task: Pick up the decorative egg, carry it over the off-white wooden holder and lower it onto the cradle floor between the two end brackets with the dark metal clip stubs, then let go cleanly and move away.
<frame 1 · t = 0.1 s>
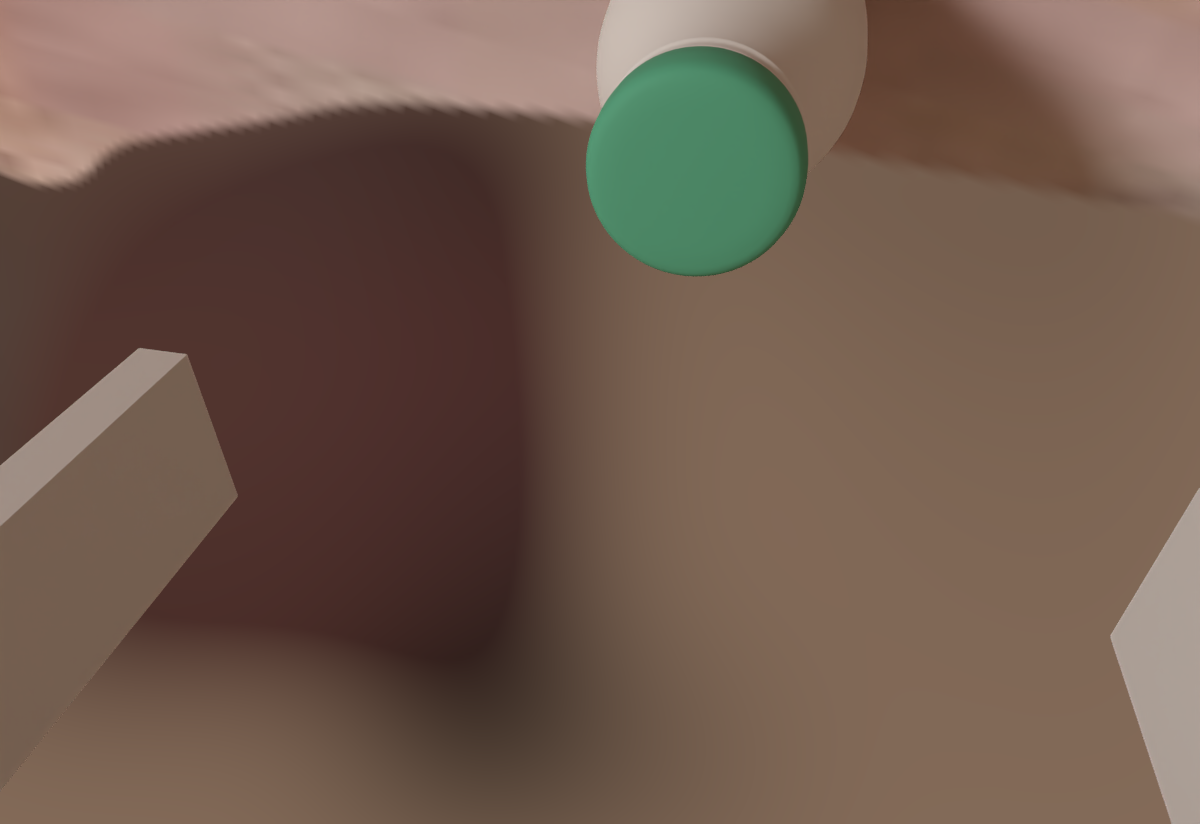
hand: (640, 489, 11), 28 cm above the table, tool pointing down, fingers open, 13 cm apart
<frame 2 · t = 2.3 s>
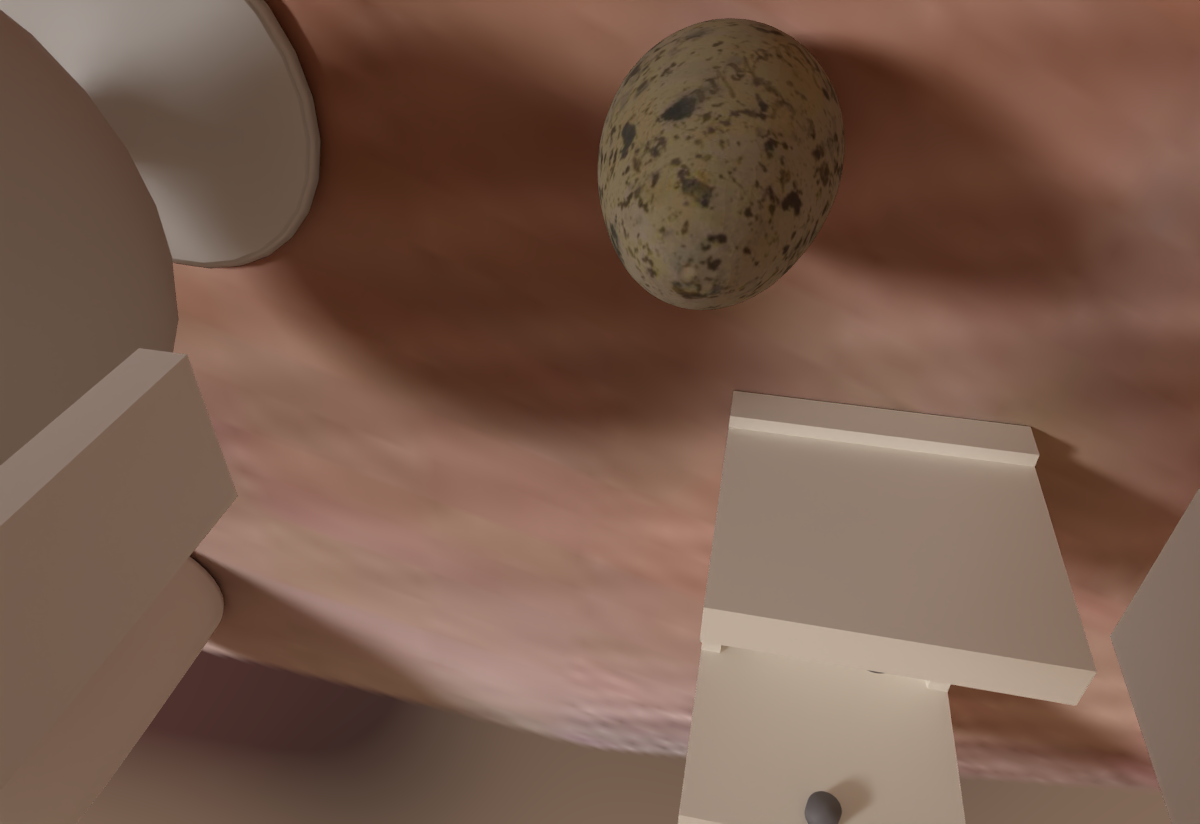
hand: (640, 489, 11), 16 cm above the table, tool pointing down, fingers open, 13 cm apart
milk bottle: (164, 575, 45), on the table
decorative egg: (733, 102, 24), on the table
holder: (842, 546, 33), on the table
chalice: (155, 94, 28), on the table
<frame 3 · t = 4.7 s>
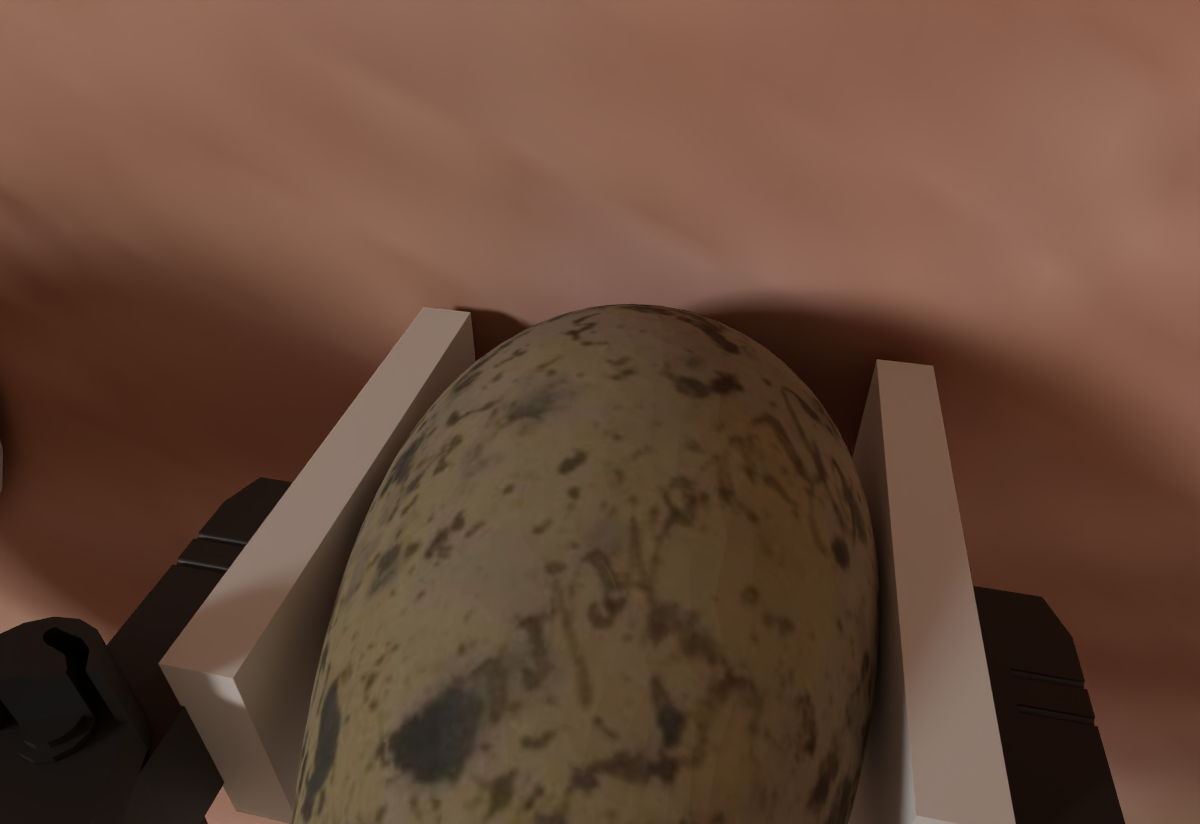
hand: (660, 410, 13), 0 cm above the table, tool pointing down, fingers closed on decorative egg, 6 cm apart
decorative egg: (664, 383, 13), on the table, touching gripper
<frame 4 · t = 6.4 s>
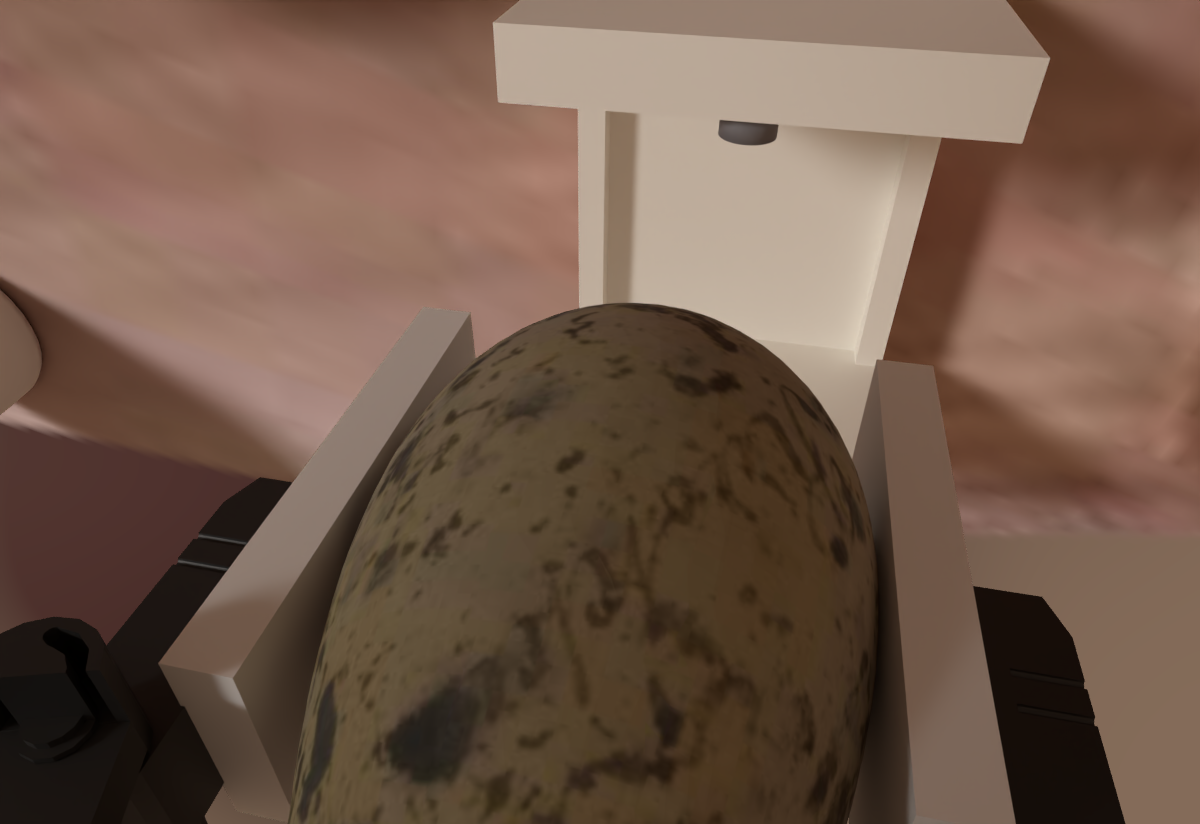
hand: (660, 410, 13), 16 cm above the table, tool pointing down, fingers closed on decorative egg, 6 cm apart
decorative egg: (663, 382, 13), point 15 cm above the table, touching gripper
holder: (748, 178, 26), on the table
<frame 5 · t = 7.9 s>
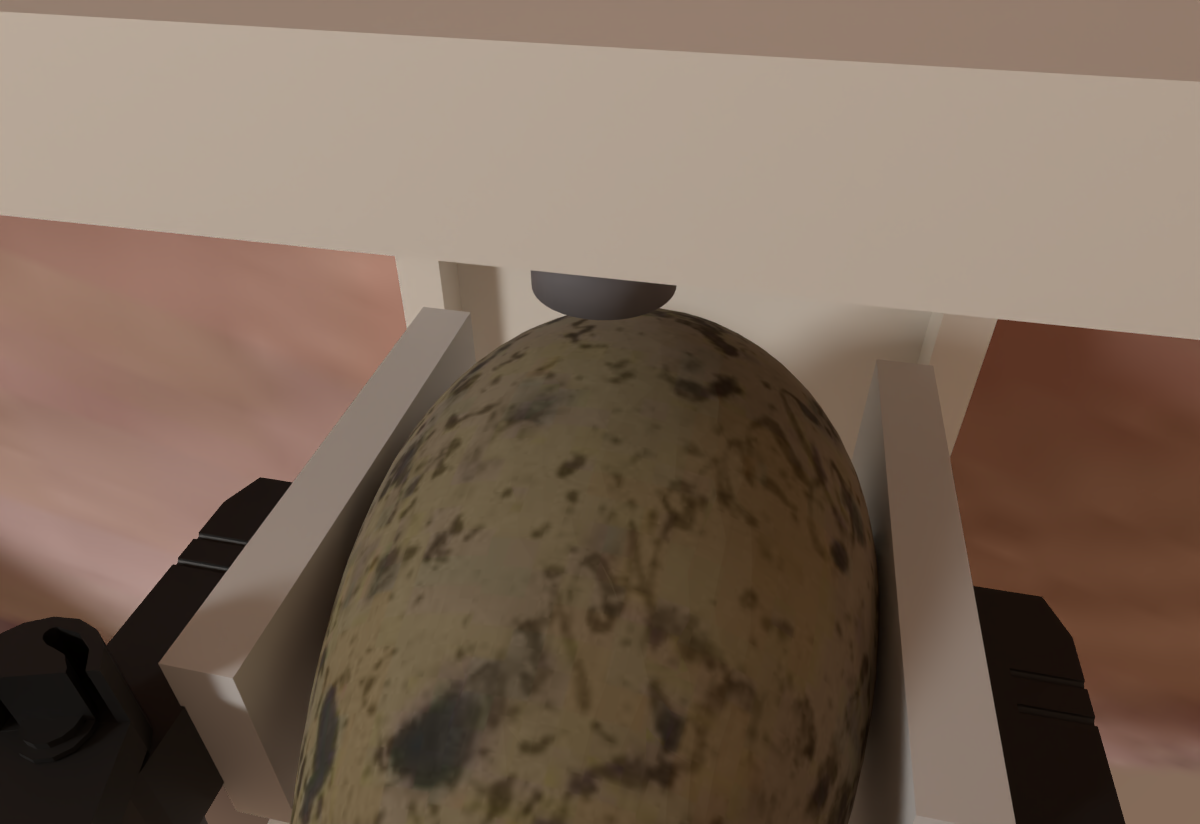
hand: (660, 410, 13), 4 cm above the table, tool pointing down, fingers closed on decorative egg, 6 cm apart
decorative egg: (664, 385, 13), point 4 cm above the table, touching gripper
holder: (691, 272, 16), on the table
when the fingers open (3 cm above the table, at t = 8.3 s): decorative egg drops 2 cm, resting on holder.
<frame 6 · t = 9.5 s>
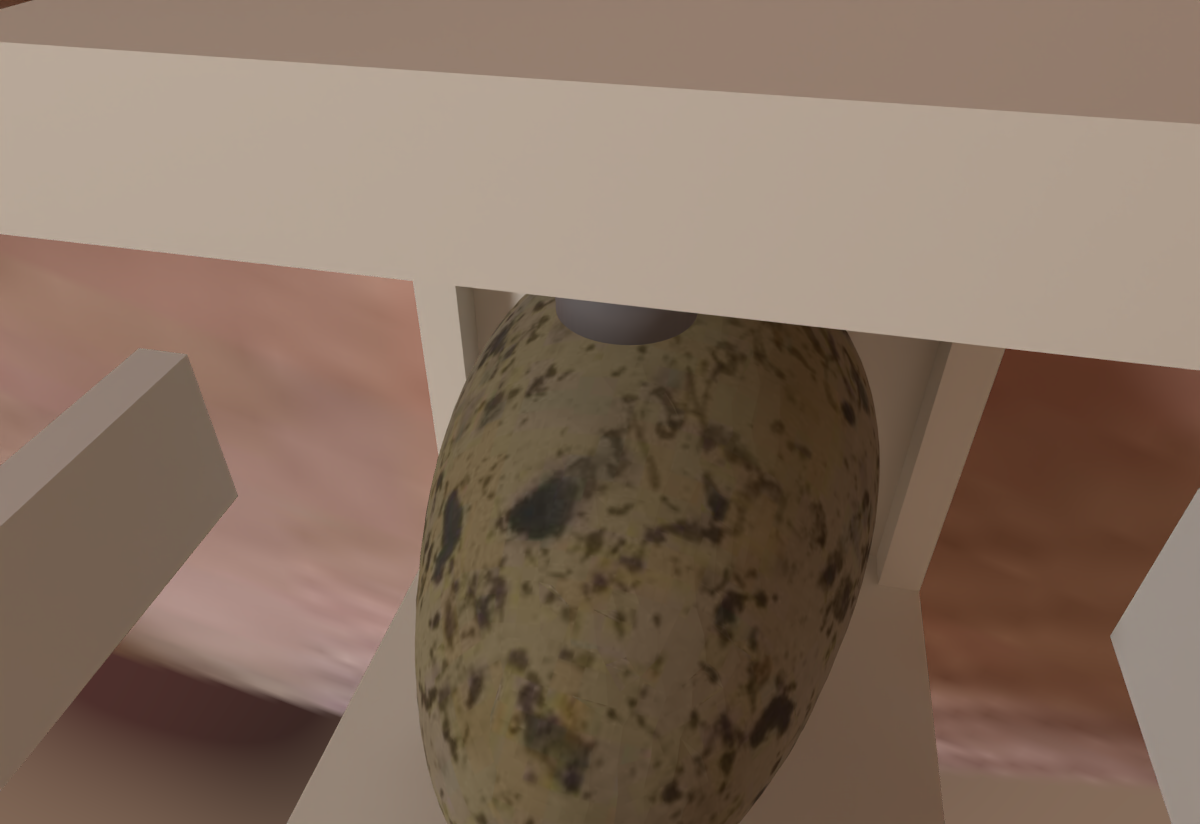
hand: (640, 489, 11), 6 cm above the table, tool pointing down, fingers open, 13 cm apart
decorative egg: (699, 313, 15), point 1 cm above the table, touching holder
holder: (703, 289, 16), on the table
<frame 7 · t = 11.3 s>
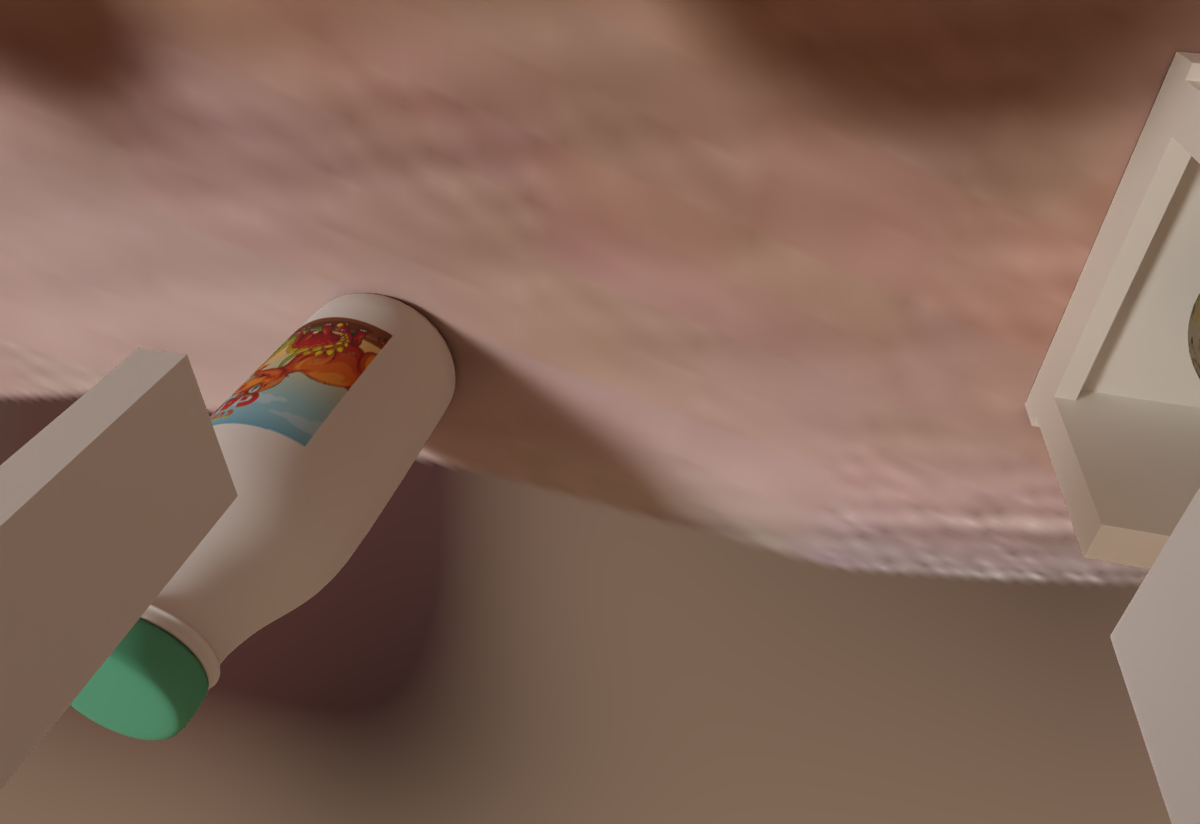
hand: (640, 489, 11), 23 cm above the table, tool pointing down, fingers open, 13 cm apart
milk bottle: (387, 355, 41), on the table
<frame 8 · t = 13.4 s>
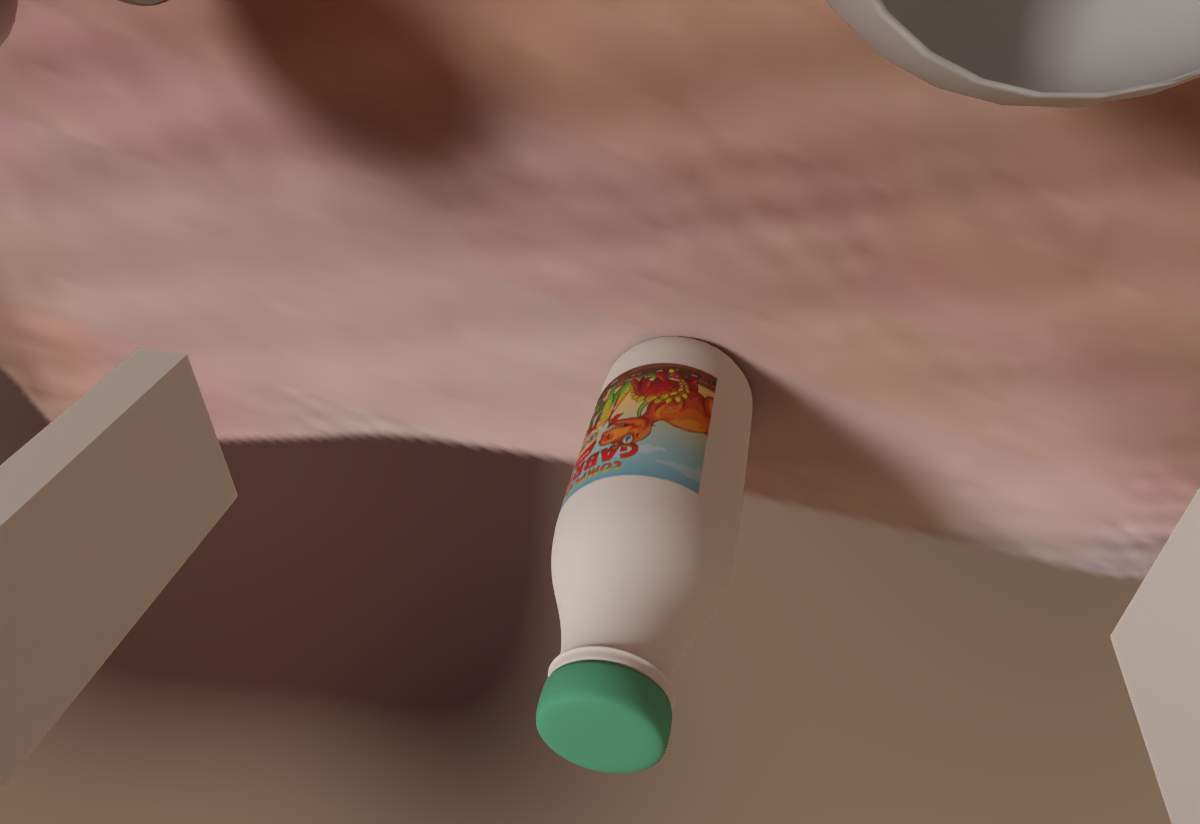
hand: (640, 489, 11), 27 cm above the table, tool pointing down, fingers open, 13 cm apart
milk bottle: (679, 391, 44), on the table
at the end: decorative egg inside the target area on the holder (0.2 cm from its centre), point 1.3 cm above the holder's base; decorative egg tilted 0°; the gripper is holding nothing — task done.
